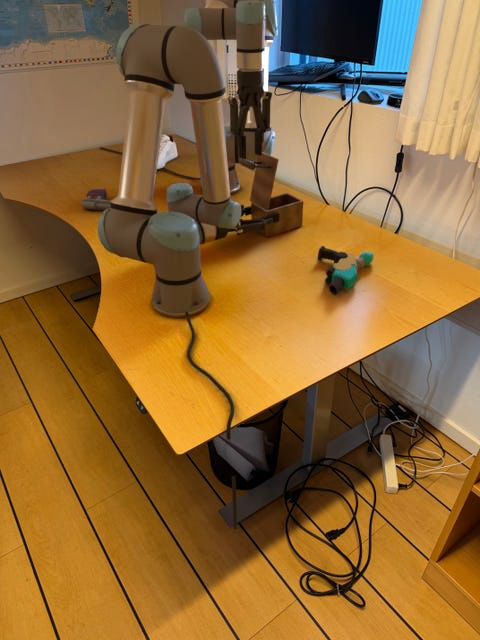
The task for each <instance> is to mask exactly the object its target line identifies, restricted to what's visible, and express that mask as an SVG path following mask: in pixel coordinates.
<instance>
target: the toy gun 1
mask: <svg viewBox="0 0 480 640" xmlns="http://www.w3.org/2000/svg"><path fill="white" fill-rule="evenodd" d="M107 198H108V191H107V189H106V188H92V189H91V190H88V191H87V193H86V198H83V199H82V202H81V204H80V207H82V209H86V210H95V211H105V210H106V209H108V208H110V205H111V200H112V199H109V200H108V199H107Z"/></svg>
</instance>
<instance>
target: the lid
mask: <svg viewBox="0 0 480 640" xmlns="http://www.w3.org/2000/svg"><path fill="white" fill-rule="evenodd" d="M279 161H280V159H279V158H277V157H275V156H273V155H272V156H270V155H268V154H266V153H263V152H262V155H261V156H259V155H258V159H257V161H248V160H246V159H241V161H240V163H239V164H240V165H241V166H242V167H245V168H247V169H249V170H251V171H254V176H253V181H252V185H251V186H252V188H251V192H250V198H249V202H251V203H254V204H256V205H258V206H259V207H261V208H263V209H265V210H268V209H269V204H270V199H271V197H272V193H273V189H274V183H275V179H276V175H277V169H278V166H279Z"/></svg>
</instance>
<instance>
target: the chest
mask: <svg viewBox="0 0 480 640" xmlns="http://www.w3.org/2000/svg"><path fill="white" fill-rule="evenodd" d="M304 202H305V201H304V200H303V199H301V198H299V197H297V196H295V195H292V194H291V193H288V192H284V193H280V194H277V195H275V196H274V195H273V196H271V199H270V204H269V209H268V210H265V209H263V208H261V207H259V206H258V205H256V204H254V203H252V202H251V203H250V206H251V215H250V217H251V219H250V220H253V219H262V217H265V216H269V215H272V214H275V213H280V217H279V221H278V222H275V223H272V224H268V225H266V230H262V231H256V232H257V233H258V234H260V235H262V236H263V237H265V238H270V237H273V236H276V235H279V234H282V233H285V232H288V231H291V230H295V229H298V228H300V227H303V218H304V217H303V216H304Z"/></svg>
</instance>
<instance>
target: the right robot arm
mask: <svg viewBox="0 0 480 640" xmlns="http://www.w3.org/2000/svg"><path fill="white" fill-rule="evenodd" d="M184 26H188V27H191V28H193V29H195V30H197V31H198V32H200V33H201V34H202V35H203V36H204V37H205V38H206V39H207V40H208V41H236V68H237V71H236V85H237V90H236V93H235V94H234V95H233V96H231V95H230V96H228V97H227V100H228V104H229V125H224V128H225V140H226V151H227V162H228V174H229V185H230V195H233V194H236V193H238V192H239V191H240V190H241V181H240V178H239V175H238V173H237V170H236V164H240V161H241V159H246V160H248V161H257V159H258V155H259V156H261V155H262V152H263V153H266V154H268V155H270V156H273V151H274V145H275V144H274V143H275V138H276V137H275V136H276V132H275V130H272V125H271V101H272V97H273V92H272V91H269V73H270V72H269V69H270V68H269V67H270V64H269V63H270V47H271V46H272V45H273V43H274V38H275V37H278V36H279V35H278V34H279V31H278V17H277V7H276V0H213V1H210V2H208V3H207V4H206V5H205V7H193V8H187V9H186V10H185V11H184ZM99 150H104V151H109V152H113V153H117V154H119V155H123V151H122V152H121V151H118V150H114V149H110V148H107V147H106V148H105V147H101V146H99ZM160 169H161V170H163V171H166V172H169V173H171V174H173V175H175V176H179V177H181V178H186V179H191V180H197V181H201V177H194V176H188V175H184V174H180V173H178V172H175V171H173V170H170V169H168V168H166V167H162V168H160Z"/></svg>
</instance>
